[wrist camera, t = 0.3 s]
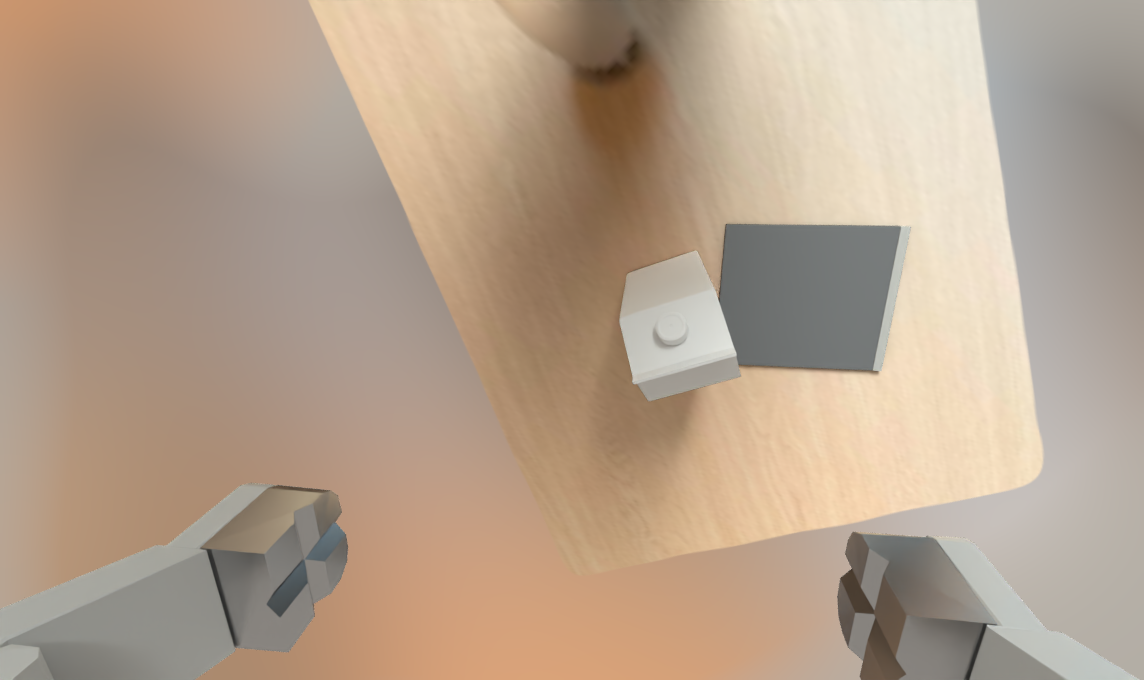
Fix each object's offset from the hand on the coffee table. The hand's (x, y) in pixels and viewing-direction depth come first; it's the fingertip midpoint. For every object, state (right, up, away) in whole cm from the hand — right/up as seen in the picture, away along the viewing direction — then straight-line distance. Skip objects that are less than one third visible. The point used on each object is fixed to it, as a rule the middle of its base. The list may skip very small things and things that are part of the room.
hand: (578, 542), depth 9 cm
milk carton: (+10, +8, +45) cm, 47 cm away
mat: (+22, +7, +43) cm, 49 cm away
